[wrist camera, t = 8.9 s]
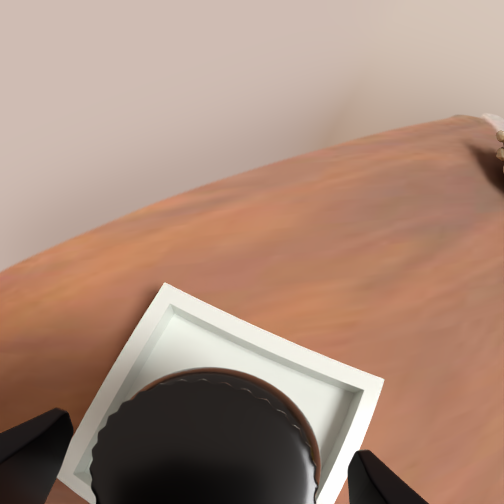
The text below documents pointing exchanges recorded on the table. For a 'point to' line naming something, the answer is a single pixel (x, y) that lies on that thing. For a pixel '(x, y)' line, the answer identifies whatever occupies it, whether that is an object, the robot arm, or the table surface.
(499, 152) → the mineral formation
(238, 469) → the supplement bottle
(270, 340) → the ceramic tray
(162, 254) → the table surface
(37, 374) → the table surface
